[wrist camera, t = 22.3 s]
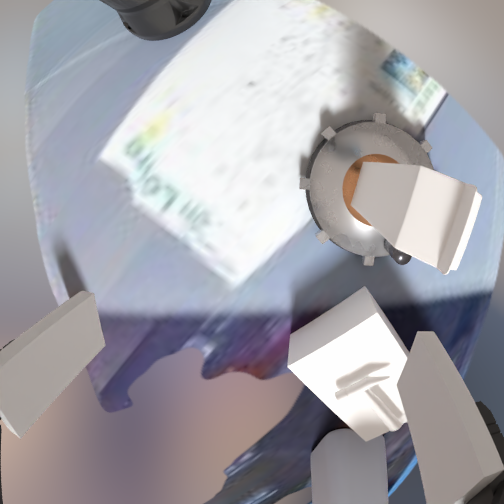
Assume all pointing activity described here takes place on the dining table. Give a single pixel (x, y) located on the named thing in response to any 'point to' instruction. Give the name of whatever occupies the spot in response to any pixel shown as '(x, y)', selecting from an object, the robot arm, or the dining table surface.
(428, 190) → the milk
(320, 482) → the plastic bottle
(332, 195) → the sprocket
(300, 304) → the dining table surface
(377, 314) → the tissue box
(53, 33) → the dining table surface
